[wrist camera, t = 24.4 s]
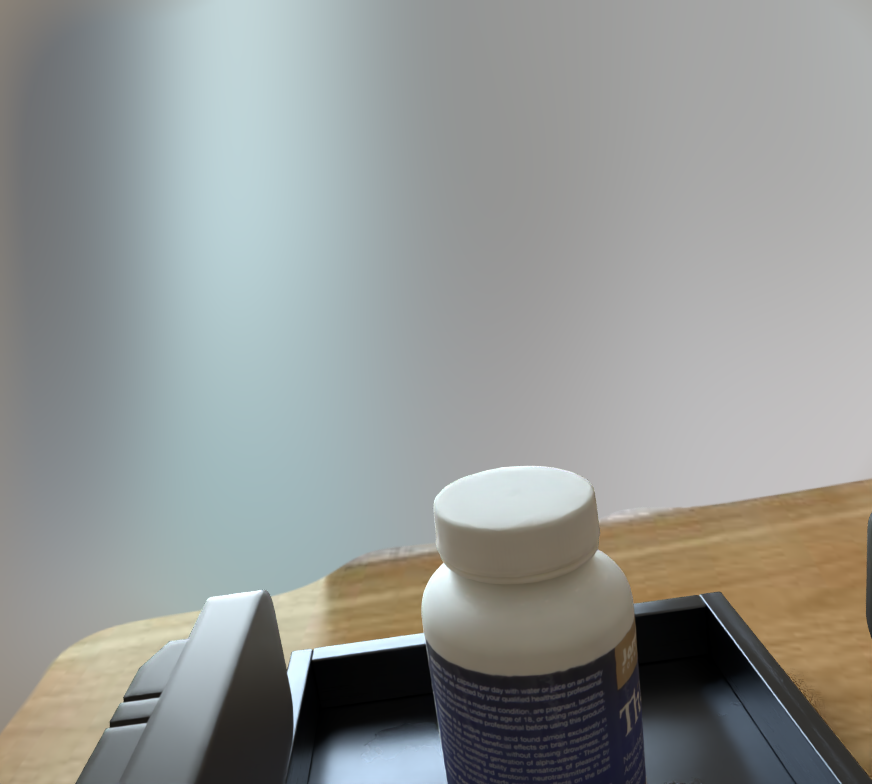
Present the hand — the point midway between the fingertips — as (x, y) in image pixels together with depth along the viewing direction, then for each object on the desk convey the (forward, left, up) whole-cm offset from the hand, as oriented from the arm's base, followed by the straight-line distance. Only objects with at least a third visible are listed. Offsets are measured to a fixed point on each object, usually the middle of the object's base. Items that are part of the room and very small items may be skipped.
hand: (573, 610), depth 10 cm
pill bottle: (0, +8, -12) cm, 14 cm away
